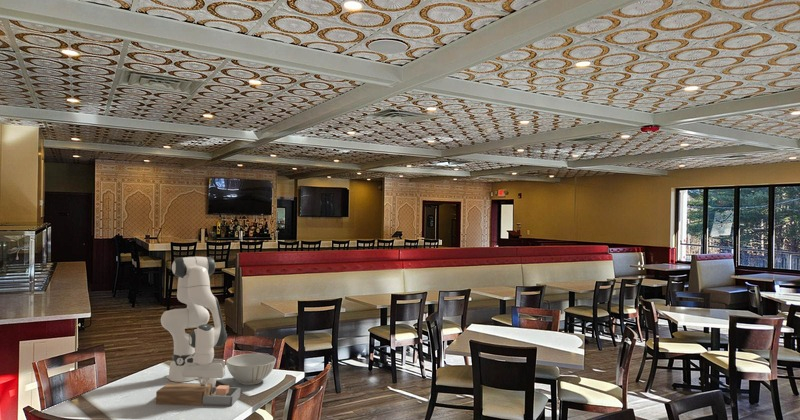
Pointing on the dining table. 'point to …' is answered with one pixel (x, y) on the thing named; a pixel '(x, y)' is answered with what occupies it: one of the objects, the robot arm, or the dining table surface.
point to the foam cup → (210, 381)
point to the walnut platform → (182, 393)
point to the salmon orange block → (222, 390)
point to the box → (222, 397)
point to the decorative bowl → (250, 367)
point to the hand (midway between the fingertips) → (203, 386)
